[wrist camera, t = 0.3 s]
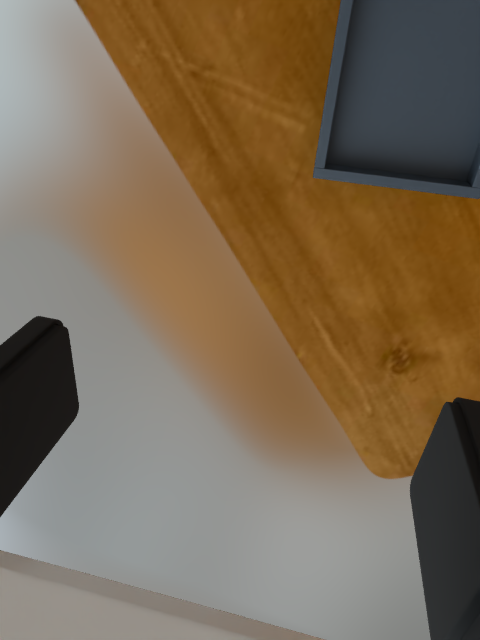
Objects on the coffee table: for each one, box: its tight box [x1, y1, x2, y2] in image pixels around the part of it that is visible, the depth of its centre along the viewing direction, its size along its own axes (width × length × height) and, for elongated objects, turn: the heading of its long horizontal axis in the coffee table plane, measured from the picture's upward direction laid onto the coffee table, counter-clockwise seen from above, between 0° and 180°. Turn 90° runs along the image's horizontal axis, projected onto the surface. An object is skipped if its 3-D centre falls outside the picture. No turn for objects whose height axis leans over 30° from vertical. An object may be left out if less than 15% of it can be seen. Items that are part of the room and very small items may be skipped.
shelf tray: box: [313, 0, 480, 199], centre depth 31 cm, size 18×13×3 cm
